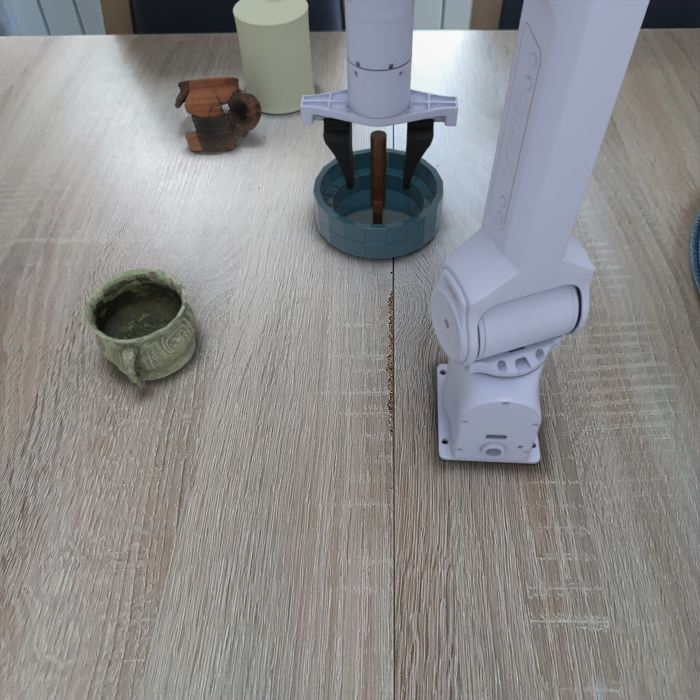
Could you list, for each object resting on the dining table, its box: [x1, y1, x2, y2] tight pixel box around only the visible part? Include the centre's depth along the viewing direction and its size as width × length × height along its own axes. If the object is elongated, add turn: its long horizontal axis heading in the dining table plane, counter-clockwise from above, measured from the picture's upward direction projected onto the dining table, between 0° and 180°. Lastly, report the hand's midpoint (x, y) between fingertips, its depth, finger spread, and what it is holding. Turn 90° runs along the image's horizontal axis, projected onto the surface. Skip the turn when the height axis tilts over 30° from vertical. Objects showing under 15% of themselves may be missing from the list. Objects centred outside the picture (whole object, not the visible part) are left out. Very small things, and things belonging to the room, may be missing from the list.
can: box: [232, 0, 316, 115], centre depth 83 cm, size 9×9×12 cm
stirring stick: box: [369, 129, 388, 224], centre depth 67 cm, size 3×2×10 cm, turn 176°
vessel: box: [83, 267, 197, 389], centre depth 58 cm, size 12×9×6 cm
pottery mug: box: [174, 76, 263, 152], centre depth 81 cm, size 12×10×8 cm
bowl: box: [312, 147, 444, 260], centre depth 70 cm, size 13×13×4 cm
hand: (378, 183), depth 68 cm, fingers open, 5 cm apart
